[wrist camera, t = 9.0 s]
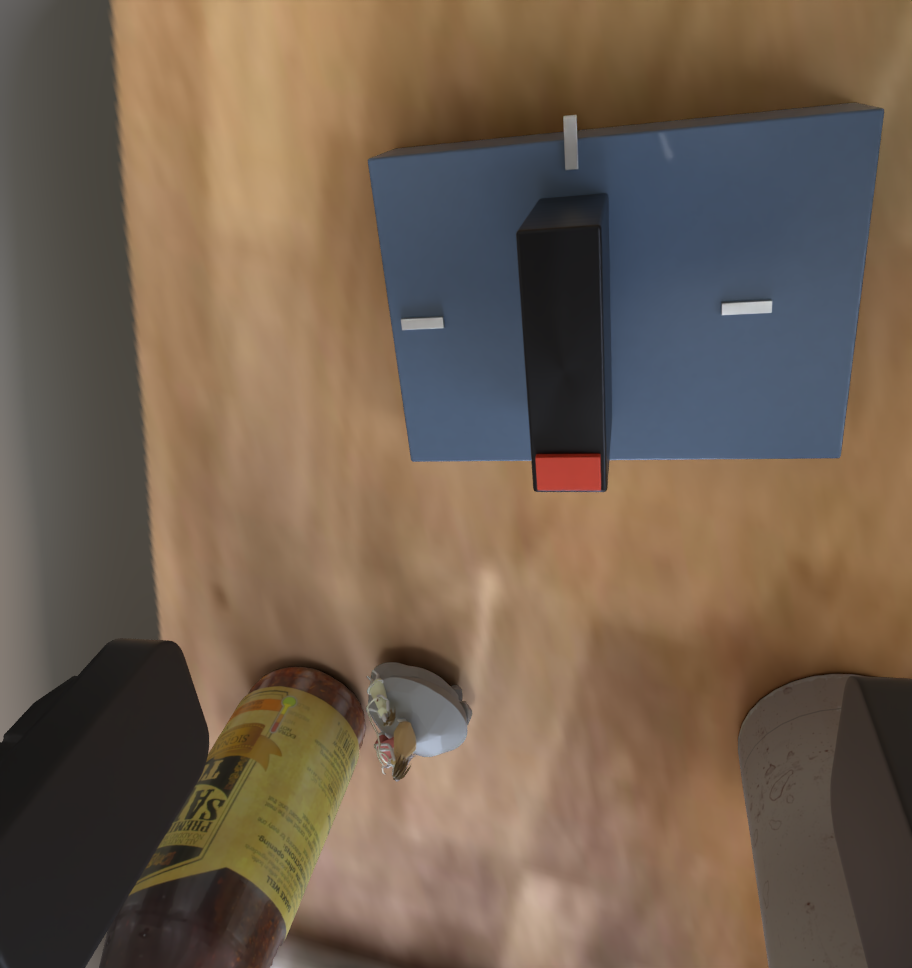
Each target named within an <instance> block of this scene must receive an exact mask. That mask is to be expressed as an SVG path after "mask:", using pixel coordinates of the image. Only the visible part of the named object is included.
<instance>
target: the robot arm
mask: <svg viewBox="0 0 912 968" xmlns="http://www.w3.org/2000/svg"><path fill="white" fill-rule="evenodd" d="M208 750H209V732H208V727H207V724H206V721H205V718H204V715H203V712H202V709H201V706H200V703H199V700H198V697H197V694H196V691H195V688H194V684H193V681H192V678H191V675H190V672H189V669H188V666H187V663H186V660H185V657H184V654H183V652H182V650H181V648H180V647H179V646H178V645H177V644H176V643H175V642H173V641H165V640H144V639H123V638H120V639H115V640H112V641H111V642H109V643H108V644H107V645H105V646H104V648H103V649H102V650H101V651H100V652H99V653H98V654H97V655H96V656H95V657H94V658H93V659H92V661H91V662H90V663H89V664H88V665H87V666H86V667H85V668H84V669H83V671H82V672H81V673H80V674H79V675H78V676H73V677H71V678H70V679H69V680H67V681H66V682H64V683H63V684H61V685H60V686H58V687H57V688H55V689H54V690H52V691H51V692H49V693H48V694H46V695H45V696H43V697H42V698H41V699H39V700H38V701H36V702H35V703H34V704H33V705H32V706H31V707H30V708H29V709H28V710H27V711H26V712H25V713H24V714H23V715H22V717H20V718H19V719H18V721H17V722H16V723H15V724H14V725H13V726H12V727H11V728H10V729H9V730H8V731H7V732H6V733H5V734H4V739H3V741H2V743H1V742H0V968H85V967H86V965H87V963H88V962H89V960H90V958H91V957H92V955H93V954H94V951H95V950H96V949H97V947H98V945H99V944H100V942H101V940H102V938H103V937H104V935H105V934H106V932H107V931H108V929H109V927H110V926H111V924H112V922H113V921H114V919H115V917H116V916H117V914H118V912H119V911H120V909H121V907H122V906H123V904H124V903H125V901H126V899H127V898H128V896H129V894H130V893H131V891H132V889H133V888H134V886H135V884H136V883H137V881H138V879H139V878H140V876H141V875H142V873H143V871H144V870H145V868H146V866H147V865H148V863H149V861H150V860H151V858H152V856H153V855H154V853H155V851H156V850H157V848H158V847H159V845H160V843H161V842H162V840H163V838H164V837H165V835H166V833H167V832H168V830H169V828H170V827H171V825H172V823H173V822H174V820H175V818H176V817H177V815H178V814H179V812H180V810H181V809H182V807H183V805H184V804H185V802H186V800H187V799H188V797H189V795H190V794H191V792H192V790H193V789H194V787H195V786H196V784H197V782H198V781H199V779H200V777H201V775H202V773H203V770H204V768H205V764H206V761H207V757H208ZM830 800H831V814H832V822H833V829H834V834H835V839H836V843H837V847H838V851H839V855H840V859H841V863H842V867H843V871H844V875H845V879H846V883H847V887H848V891H849V894H850V898H851V902H852V906H853V910H854V914H855V918H856V922H857V926H858V930H859V934H860V938H861V942H862V946H863V950H864V954H865V958H866V962H867V966H868V968H912V679H908V678H887V677H866V676H850V677H849V678H848V679H847V681H846V684H845V688H844V694H843V701H842V707H841V714H840V720H839V727H838V734H837V740H836V747H835V754H834V760H833V767H832V773H831V785H830Z"/></svg>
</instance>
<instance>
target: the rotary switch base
mask: <svg viewBox="0 0 912 968" xmlns="http://www.w3.org/2000/svg"><path fill="white" fill-rule="evenodd" d="M883 118H884V109H883V108H879V107H874V106H869V105H865V104H860V103H845V104H835V105H825V106H815V107H805V108H795V109H785V110H775V111H765V112H755V113H745V114H735V115H725V116H715V117H705V118H695V119H685V120H675V121H665V122H655V123H645V124H636V125H626V126H616V127H606V128H596V129H586V130H577V115H566V116H563V124H564V132H556V133H546V134H536V135H526V136H516V137H506V138H496V139H486V140H476V141H466V142H456V143H446V144H436V145H426V146H416V147H406V148H396V149H393V150H390V151H387V152H385V153H382V154H380V155H377V156H374V157H372V158H369V159H368V166H369V173H370V180H371V187H372V194H373V200H374V207H375V214H376V221H377V228H378V235H379V242H380V249H381V256H382V262H383V269H384V276H385V283H386V290H387V297H388V304H389V311H390V317H391V324H392V331H393V338H394V345H395V352H396V359H397V366H398V373H399V379H400V386H401V393H402V400H403V407H404V414H405V421H406V428H407V434H408V441H409V448H410V455H411V460H412V461H413V462H419V461H531V446H530V432H529V417H528V403H527V388H526V373H525V359H524V344H523V330H522V315H521V301H520V286H519V272H518V257H517V242H516V233H517V230H518V229H519V228H520V226H521V225H522V223H523V222H524V220H525V219H526V217H527V216H528V215H529V213H530V212H531V210H532V209H533V207H534V206H535V204H536V203H537V202H538V200H539V199H541V198H554V197H566V196H578V195H590V194H603V193H606V194H608V199H609V257H610V316H611V375H612V429H611V443H610V457H609V460H671V459H798V458H840V456H841V450H842V442H843V434H844V426H845V418H846V410H847V402H848V394H849V386H850V378H851V371H852V363H853V355H854V347H855V339H856V331H857V323H858V315H859V307H860V299H861V291H862V284H863V276H864V268H865V260H866V252H867V244H868V236H869V228H870V220H871V212H872V205H873V197H874V189H875V181H876V173H877V165H878V157H879V149H880V141H881V133H882V125H883Z"/></svg>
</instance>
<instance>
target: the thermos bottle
mask: <svg viewBox="0 0 912 968" xmlns="http://www.w3.org/2000/svg"><path fill="white" fill-rule="evenodd" d="M850 676H860V675H854V674H828V675H820V676H812V677H808V678H804V679H801V680H797V681H794V682H791V683H789V684H787V685H784V686H782V687H780V688H778V689H776V690H774V691H773V692H771V693H770V694H768V695H767V696H765V697H764V698H762V699H761V700H760V701H759V702H758V703H757V704H756V705H755V706H754V707H753V708H752V709H751V710H750V712H749V713H748V715H747V717H746V718H745V720H744V722H743V723H742V726H741V730H740V733H739V737H738V754H739V761H740V769H741V776H742V784H743V791H744V798H745V804H746V811H747V817H748V823H749V830H750V837H751V845H752V852H753V859H754V866H755V873H756V880H757V887H758V894H759V901H760V908H761V915H762V922H763V929H764V936H765V943H766V951H767V958H768V965H769V968H868V966H867V962H866V958H865V954H864V950H863V946H862V942H861V938H860V934H859V930H858V926H857V922H856V918H855V914H854V910H853V906H852V902H851V898H850V894H849V891H848V887H847V883H846V879H845V875H844V871H843V867H842V863H841V859H840V855H839V851H838V847H837V843H836V839H835V834H834V829H833V822H832V814H831V800H830V785H831V773H832V767H833V760H834V754H835V747H836V740H837V734H838V727H839V720H840V714H841V707H842V701H843V694H844V688H845V684H846V681H847V679H848V678H849V677H850ZM866 677H867V676H866Z"/></svg>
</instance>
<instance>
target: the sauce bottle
mask: <svg viewBox="0 0 912 968" xmlns="http://www.w3.org/2000/svg"><path fill="white" fill-rule="evenodd" d="M365 729H366V725H365V719H364V711H363V709H362V707H361V704H360V703H359V702H358V700H357V699H356V696H355V695H354V693H353V692H351V691H350V690H349V689H348V688H346V687H345V686H344V684H342V683H340V682H339V681H337V680H335V679H334V678H332V677H331V676H329V675H327V674H325V673H323V672H321V671H319V670H316V669H312V668H305V667H287V668H283V669H278V670H275V671H273V672H270V673H269V674H266V675H264V676H263V677H262V678H261V680H260V681H258V682H257V683H256V684H255V685H254V686H253V687H252V689H251V690H250V692H249V694H248V695H247V696H245V697H244V698H243V699H242V701H241V702H240V703H239V705H238V706H237V708H236V710H235V711H234V713H233V715H232V716H231V718H230V720H229V721H228V723H227V725H226V726H225V728H224V729H223V731H222V733H221V734H220V736H219V737H218V739H217V741H216V742H215V744H214V746H213V747H212V749H211V751H210V752H209V754H208V757H207V761H206V764H205V768H204V770H203V773H202V775H201V777H200V779H199V781H198V782H197V784H196V786H195V787H194V789H193V790H192V792H191V794H190V795H189V797H188V799H187V800H186V802H185V804H184V805H183V807H182V809H181V810H180V812H179V814H178V815H177V817H176V818H175V820H174V822H173V823H172V825H171V827H170V828H169V830H168V832H167V833H166V835H165V837H164V838H163V840H162V842H161V843H160V845H159V847H158V848H157V850H156V851H155V853H154V855H153V856H152V858H151V860H150V861H149V863H148V865H147V866H146V868H145V870H144V871H143V873H142V875H141V876H140V878H139V879H138V881H137V883H136V884H135V886H134V888H133V889H132V891H131V893H130V894H129V896H128V898H127V899H126V901H125V903H124V904H123V906H122V907H121V909H120V911H119V912H118V914H117V916H116V917H115V919H114V921H113V922H112V924H111V926H110V927H109V929H108V931H107V936H106V940H105V945H104V949H103V953H102V958H101V962H100V966H99V968H270V966H271V965H272V962H273V959H274V957H275V955H276V953H277V950H278V947H279V946H281V945H282V944H283V942H284V940H285V939H286V936H287V934H288V931H289V929H290V926H291V924H292V922H293V919H294V917H295V914H296V912H297V909H298V907H299V905H300V902H301V900H302V897H303V895H304V892H305V890H306V887H307V885H308V882H309V880H310V877H311V875H312V872H313V870H314V867H315V865H316V863H317V860H318V858H319V855H320V853H321V851H322V848H323V846H324V843H325V841H326V838H327V836H328V834H329V831H330V829H331V826H332V824H333V821H334V819H335V816H336V814H337V811H338V809H339V806H340V804H341V802H342V799H343V797H344V794H345V792H346V789H347V787H348V784H349V782H350V779H351V777H352V774H353V772H354V769H355V766H356V764H357V761H358V758H359V750H360V748H361V746H362V743H363V738H364V736H365Z"/></svg>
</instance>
